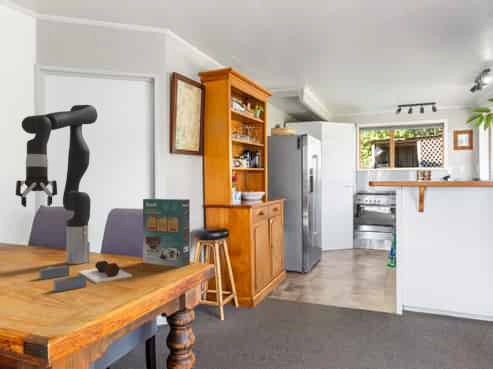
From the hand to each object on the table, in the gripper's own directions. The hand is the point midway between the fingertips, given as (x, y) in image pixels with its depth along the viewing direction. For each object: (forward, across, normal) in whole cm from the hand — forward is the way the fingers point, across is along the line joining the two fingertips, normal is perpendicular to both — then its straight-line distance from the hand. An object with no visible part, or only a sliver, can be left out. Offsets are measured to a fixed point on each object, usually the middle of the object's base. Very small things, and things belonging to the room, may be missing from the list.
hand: (37, 206), depth 143 cm
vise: (+28, -5, +13) cm, 31 cm away
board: (+28, -21, +16) cm, 39 cm away
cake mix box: (+28, -50, +14) cm, 59 cm away
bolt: (+28, -21, +17) cm, 39 cm away
